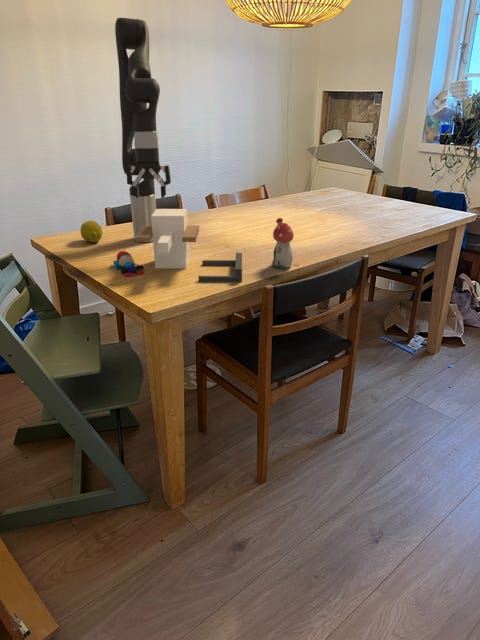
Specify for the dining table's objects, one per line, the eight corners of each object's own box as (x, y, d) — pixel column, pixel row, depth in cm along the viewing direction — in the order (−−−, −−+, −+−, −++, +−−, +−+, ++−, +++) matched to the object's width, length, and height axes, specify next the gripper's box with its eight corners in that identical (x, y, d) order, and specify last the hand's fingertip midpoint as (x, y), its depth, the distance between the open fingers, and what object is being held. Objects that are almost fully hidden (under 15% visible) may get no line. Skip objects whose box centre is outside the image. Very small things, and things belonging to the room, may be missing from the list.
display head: (148, 258, 163) (144, 208, 156) (201, 258, 163) (199, 208, 156) (135, 281, 143) (129, 225, 136) (195, 281, 143) (192, 225, 136)
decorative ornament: (271, 260, 161) (272, 216, 154) (290, 260, 161) (292, 216, 154) (272, 270, 152) (274, 223, 146) (293, 270, 152) (295, 223, 146)
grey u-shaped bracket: (198, 281, 143) (198, 269, 141) (202, 264, 157) (202, 252, 156) (241, 281, 143) (241, 269, 141) (241, 264, 157) (241, 252, 156)
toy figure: (147, 278, 151) (132, 258, 161) (146, 264, 148) (130, 245, 158) (124, 284, 148) (110, 263, 158) (122, 270, 145) (107, 250, 155)
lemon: (105, 244, 179) (102, 223, 175) (83, 246, 176) (80, 225, 173) (101, 237, 188) (98, 216, 184) (80, 239, 185) (77, 218, 182)
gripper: (170, 146, 158) (172, 196, 164) (127, 146, 158) (131, 196, 165) (166, 147, 151) (169, 199, 157) (122, 147, 152) (126, 199, 158)
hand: (150, 197), depth 161 cm, fingers open, 8 cm apart
